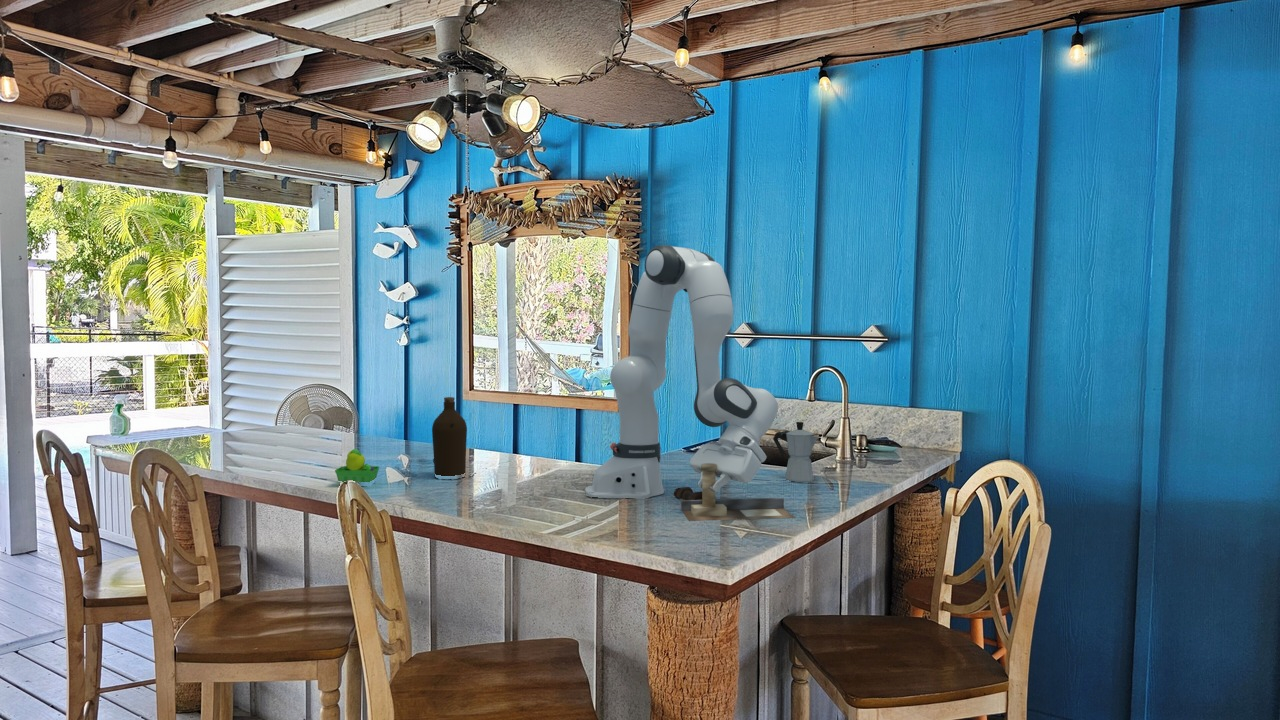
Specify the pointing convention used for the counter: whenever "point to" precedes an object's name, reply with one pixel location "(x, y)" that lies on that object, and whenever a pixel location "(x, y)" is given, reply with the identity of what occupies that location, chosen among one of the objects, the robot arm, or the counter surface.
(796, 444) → the coffee maker
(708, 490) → the stamp
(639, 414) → the robot arm
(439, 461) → the olive oil
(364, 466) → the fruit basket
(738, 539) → the counter surface
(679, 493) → the bolt
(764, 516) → the board
